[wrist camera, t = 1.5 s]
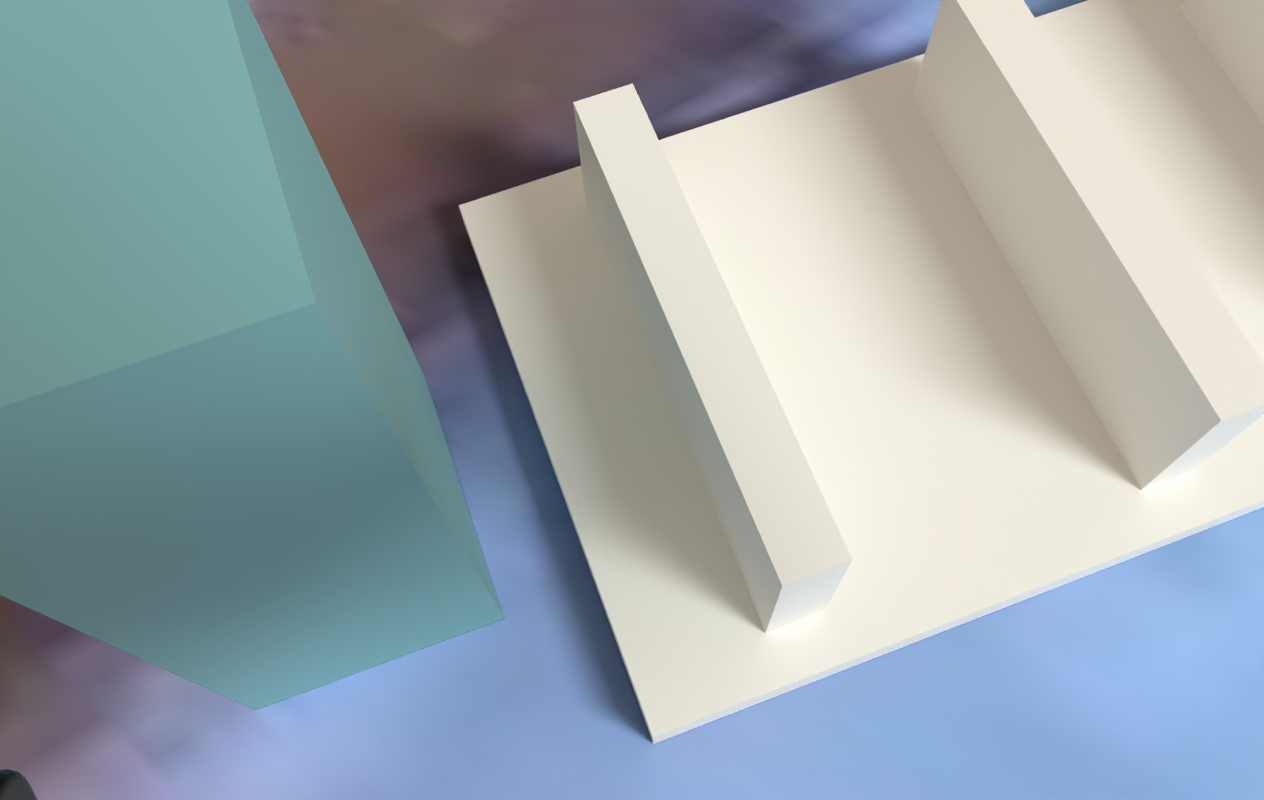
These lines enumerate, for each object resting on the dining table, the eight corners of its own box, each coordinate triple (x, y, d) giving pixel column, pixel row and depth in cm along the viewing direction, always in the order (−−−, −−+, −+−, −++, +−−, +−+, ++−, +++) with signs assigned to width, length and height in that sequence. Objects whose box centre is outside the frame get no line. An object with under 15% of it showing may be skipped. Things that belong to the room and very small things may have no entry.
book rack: (1747, 319, 24) (2406, -35, 15) (653, 744, 21) (639, 628, 12) (1402, -78, 29) (1745, -536, 20) (466, 229, 26) (354, -135, 17)
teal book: (504, 618, 22) (315, 303, 11) (255, 710, 22) (-241, 486, 10) (426, 379, 25) (196, -108, 13) (197, 458, 24) (-269, 24, 12)
